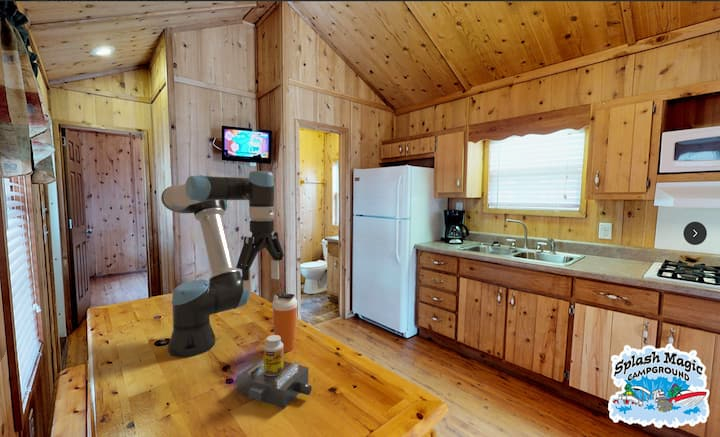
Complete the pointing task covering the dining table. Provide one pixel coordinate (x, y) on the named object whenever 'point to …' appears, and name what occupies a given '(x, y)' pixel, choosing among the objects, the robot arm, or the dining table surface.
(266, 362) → the supplement bottle
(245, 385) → the motor block
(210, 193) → the robot arm
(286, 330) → the shaker bottle
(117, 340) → the dining table surface
